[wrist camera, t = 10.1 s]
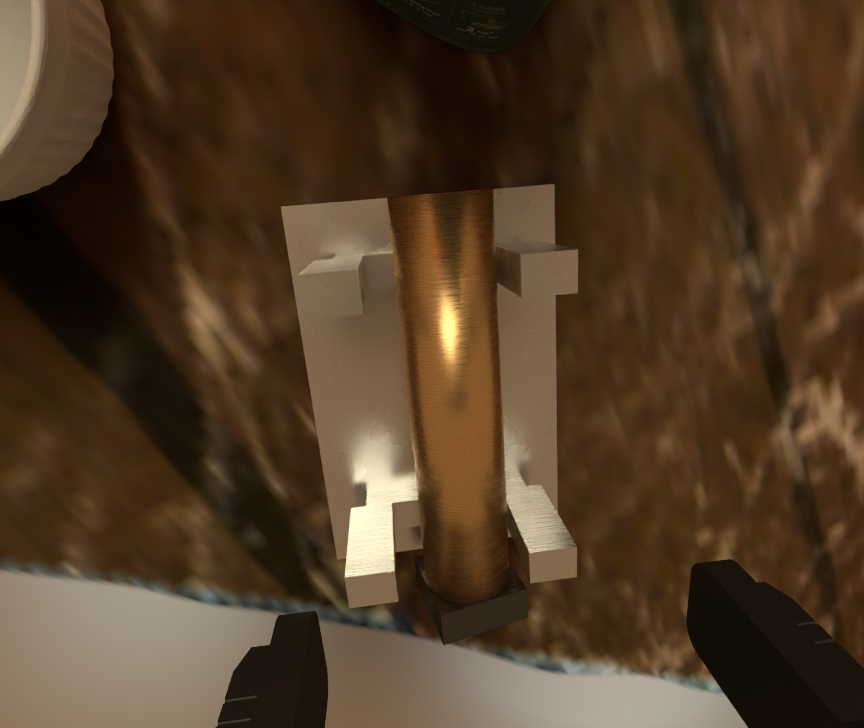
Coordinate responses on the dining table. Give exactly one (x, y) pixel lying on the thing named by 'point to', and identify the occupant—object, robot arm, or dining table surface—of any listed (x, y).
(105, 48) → the ramekin
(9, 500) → the dining table surface
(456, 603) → the tube
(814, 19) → the dining table surface
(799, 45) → the dining table surface
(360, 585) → the white holder rack
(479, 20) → the coffee jar
